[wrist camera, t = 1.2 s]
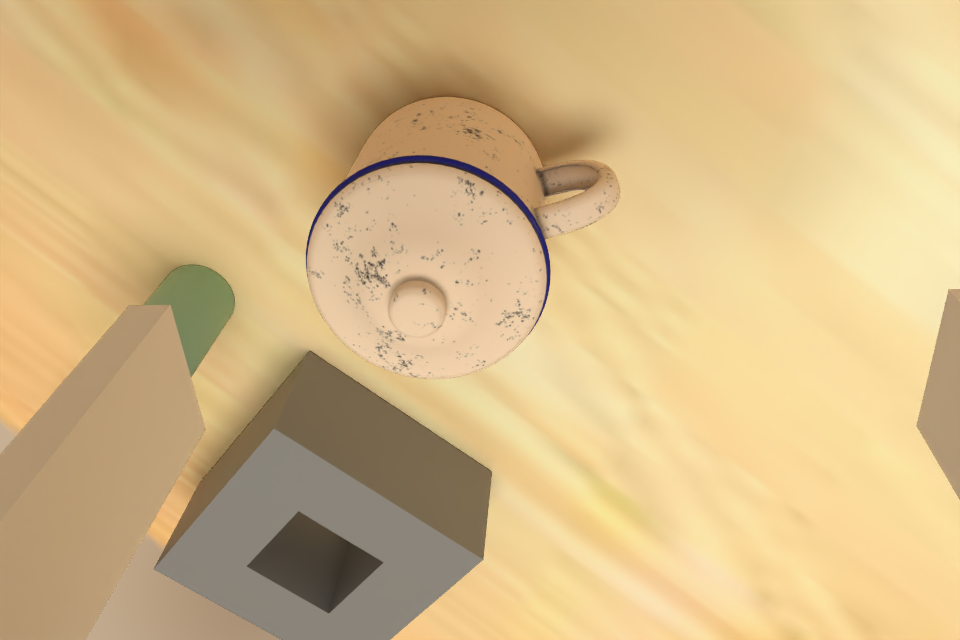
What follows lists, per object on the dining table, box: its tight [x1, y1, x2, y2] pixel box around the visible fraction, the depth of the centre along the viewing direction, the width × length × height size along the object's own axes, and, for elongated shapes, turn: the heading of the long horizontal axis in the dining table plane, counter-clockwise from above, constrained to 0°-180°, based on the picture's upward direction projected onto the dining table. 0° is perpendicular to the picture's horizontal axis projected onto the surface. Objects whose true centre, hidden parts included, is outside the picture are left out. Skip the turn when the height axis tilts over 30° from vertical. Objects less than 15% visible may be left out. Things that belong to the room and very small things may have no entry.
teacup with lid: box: [306, 97, 620, 379], centre depth 34 cm, size 12×9×12 cm
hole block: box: [154, 351, 492, 640], centre depth 46 cm, size 12×12×6 cm
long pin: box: [144, 265, 235, 377], centre depth 37 cm, size 4×4×15 cm
